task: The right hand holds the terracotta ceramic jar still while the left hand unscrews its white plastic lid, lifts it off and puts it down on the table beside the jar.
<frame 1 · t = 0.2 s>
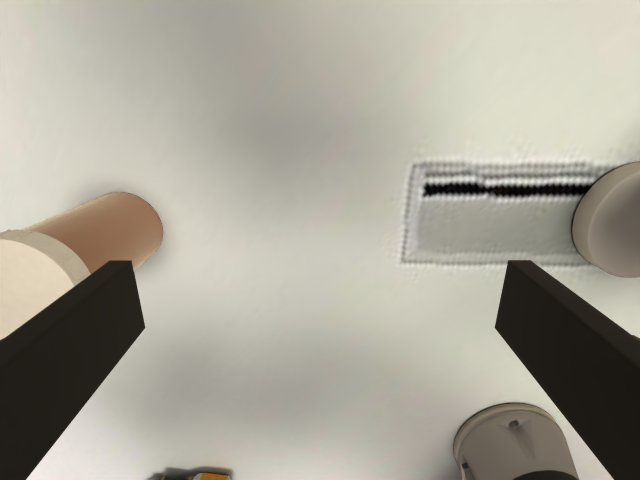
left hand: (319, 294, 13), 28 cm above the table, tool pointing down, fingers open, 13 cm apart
bust sculpture: (634, 183, 40), on the table
lid: (19, 294, 27), point 16 cm above the table, screwed on, not yet turned
jar: (126, 227, 41), on the table
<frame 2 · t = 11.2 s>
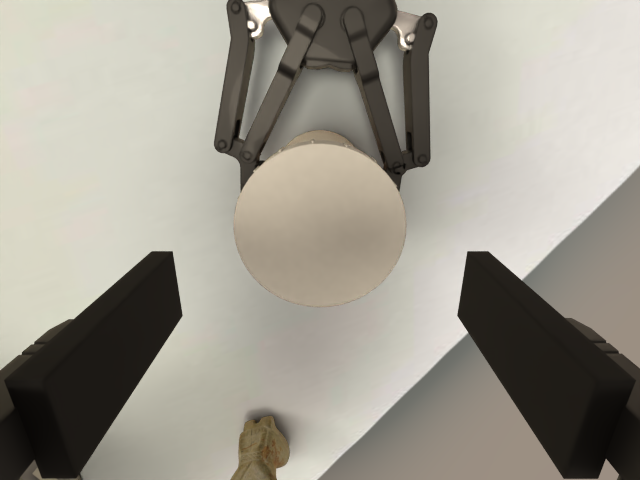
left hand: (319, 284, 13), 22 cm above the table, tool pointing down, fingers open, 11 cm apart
right hand: (316, 245, 30), fingers closed on jar, 8 cm apart
lid: (320, 230, 19), point 16 cm above the table, screwed on, not yet turned
jar: (319, 176, 34), on the table, touching right hand
sculpture: (267, 430, 45), on the table
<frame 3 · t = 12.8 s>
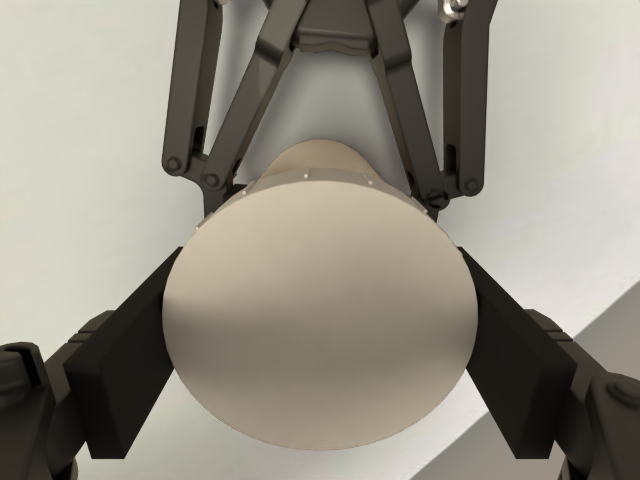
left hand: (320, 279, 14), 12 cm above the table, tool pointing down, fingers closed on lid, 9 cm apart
right hand: (314, 301, 21), fingers closed on jar, 8 cm apart
lid: (320, 329, 11), point 16 cm above the table, screwed on, not yet turned, touching left hand
jar: (319, 200, 25), on the table, touching right hand
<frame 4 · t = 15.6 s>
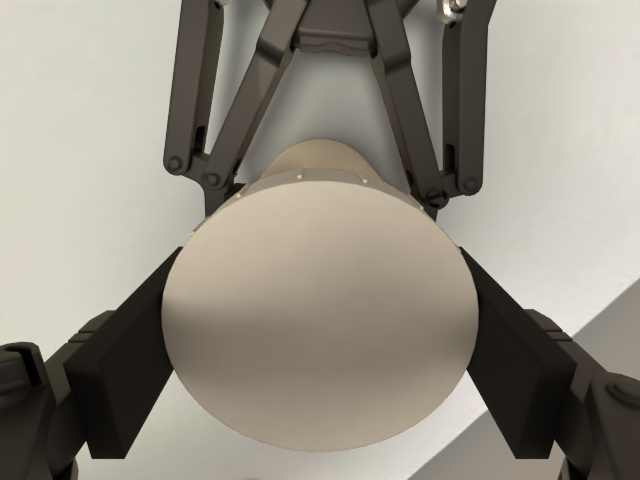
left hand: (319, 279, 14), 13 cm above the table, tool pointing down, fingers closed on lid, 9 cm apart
right hand: (314, 300, 22), fingers closed on jar, 8 cm apart
lid: (320, 330, 11), point 16 cm above the table, turned 66° so far, risen 0.2 cm, still on its thread, touching left hand
jar: (320, 199, 26), on the table, touching right hand
when the left hand's fingers open (0 cm above the table, at t = 22.2 s): lid drops 2 cm, point 2 cm above the table.
when the right hand's fingers open (6 cm above the table, at t = 23.1 s): jar stays where it is, on the table.
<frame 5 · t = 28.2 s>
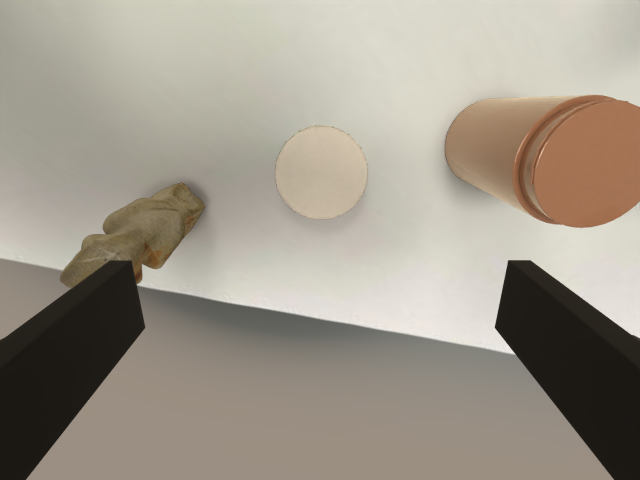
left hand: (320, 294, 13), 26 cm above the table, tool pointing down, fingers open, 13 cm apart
lid: (321, 174, 36), point 2 cm above the table, off its thread
jar: (486, 143, 36), on the table
sculpture: (179, 209, 39), on the table
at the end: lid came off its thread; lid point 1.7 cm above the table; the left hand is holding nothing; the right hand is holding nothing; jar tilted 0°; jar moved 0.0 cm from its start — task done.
